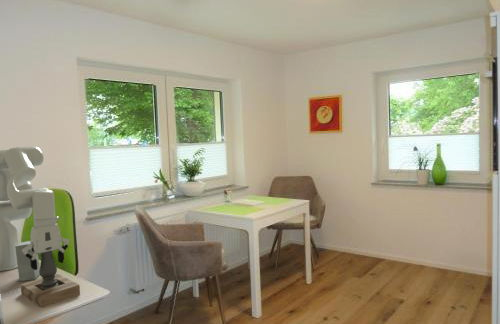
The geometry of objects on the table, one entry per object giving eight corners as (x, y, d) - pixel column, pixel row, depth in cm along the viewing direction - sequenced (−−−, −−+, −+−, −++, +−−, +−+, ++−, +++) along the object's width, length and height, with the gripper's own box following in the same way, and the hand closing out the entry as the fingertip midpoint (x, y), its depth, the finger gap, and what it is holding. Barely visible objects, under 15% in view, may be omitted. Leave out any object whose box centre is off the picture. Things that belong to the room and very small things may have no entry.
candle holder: (51, 297, 146) (46, 233, 145) (37, 297, 148) (31, 233, 146) (62, 291, 152) (57, 229, 151) (48, 290, 154) (43, 229, 152)
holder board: (21, 294, 151) (20, 284, 151) (58, 283, 162) (57, 273, 161) (41, 307, 138) (40, 296, 138) (80, 294, 149) (79, 284, 148)
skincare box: (35, 280, 167) (32, 244, 165) (17, 282, 165) (14, 245, 164) (41, 273, 175) (38, 239, 174) (23, 275, 173) (21, 240, 172)
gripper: (63, 217, 157) (66, 258, 158) (16, 225, 144) (20, 270, 145) (71, 219, 152) (74, 261, 153) (23, 228, 139) (27, 274, 140)
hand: (48, 265), depth 149 cm, fingers open, 9 cm apart
